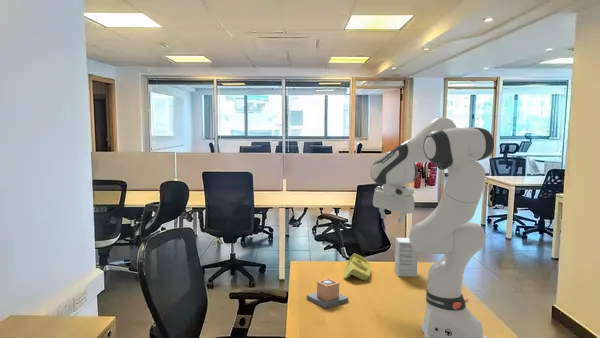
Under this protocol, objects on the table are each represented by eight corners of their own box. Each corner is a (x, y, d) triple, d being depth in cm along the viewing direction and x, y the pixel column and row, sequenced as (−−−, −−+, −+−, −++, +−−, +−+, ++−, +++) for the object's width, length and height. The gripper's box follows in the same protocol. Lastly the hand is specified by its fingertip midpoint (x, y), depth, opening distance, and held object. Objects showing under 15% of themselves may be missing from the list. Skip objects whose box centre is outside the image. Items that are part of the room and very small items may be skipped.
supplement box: (417, 277, 201) (418, 242, 199) (397, 276, 201) (399, 242, 199) (412, 270, 210) (414, 237, 208) (394, 270, 210) (395, 237, 209)
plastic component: (370, 277, 194) (350, 267, 194) (362, 290, 195) (343, 280, 196) (369, 260, 213) (351, 251, 214) (362, 272, 215) (345, 263, 215)
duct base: (348, 301, 171) (348, 283, 171) (325, 308, 164) (326, 290, 164) (328, 292, 181) (329, 275, 180) (306, 298, 174) (307, 280, 173)
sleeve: (338, 297, 172) (339, 282, 171) (327, 300, 168) (327, 286, 167) (328, 292, 177) (328, 278, 176) (316, 295, 173) (317, 281, 173)
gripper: (370, 186, 186) (369, 217, 187) (407, 192, 169) (406, 225, 171) (379, 185, 190) (378, 215, 191) (417, 190, 173) (415, 223, 175)
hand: (392, 220), depth 181 cm, fingers open, 8 cm apart
